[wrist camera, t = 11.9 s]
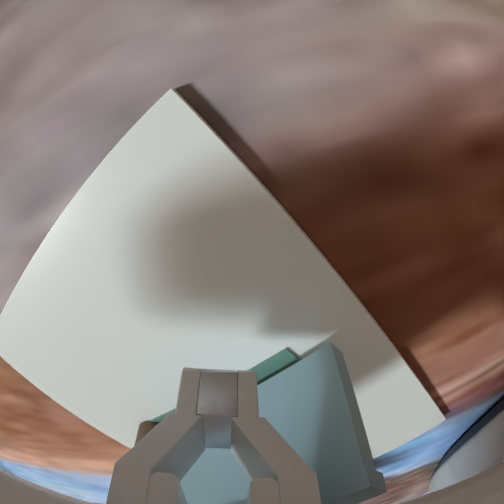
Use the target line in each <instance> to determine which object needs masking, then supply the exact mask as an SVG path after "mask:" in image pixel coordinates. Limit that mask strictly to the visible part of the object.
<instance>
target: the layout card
mask: <svg viewBox="0 0 504 504" xmlns="http://www.w3.org/2000/svg"><path fill="white" fill-rule="evenodd" d="M330 342H331V343H332V344H333V345H334V346H335V347H336V348H337V349H339V350H340V351H341V352H342V353H343V357H344V360H345V363H346V366H347V369H348V373H349V376H350V379H351V383H352V386H353V389H354V393H355V396H356V399H357V403H358V406H359V410H360V413H361V417H362V420H363V424H364V427H365V431H366V434H367V438H368V442H369V446H370V449H371V453H372V457H373V459H374V458H377V457H379V456H381V455H383V454H385V453H387V452H389V451H391V450H393V449H395V448H397V447H399V446H401V445H403V444H405V443H407V442H409V441H410V440H412V439H414V438H416V437H418V436H420V435H421V434H423V433H425V432H427V431H428V430H430V429H432V428H433V427H435V426H437V425H438V424H440V423H442V422H443V421H445V420H446V418H445V416H444V414H443V413H442V411H441V410H440V408H439V407H438V405H437V404H436V402H435V401H434V400H433V398H432V397H431V395H430V394H429V392H428V391H427V390H426V388H425V387H424V385H423V384H422V383H421V381H420V380H419V378H418V377H417V376H416V374H415V373H414V372H413V370H412V369H411V367H410V366H409V365H408V363H407V362H406V361H405V359H404V358H403V356H402V355H401V354H400V352H399V351H398V350H397V348H396V347H395V346H394V344H393V343H392V342H391V340H390V339H389V338H388V336H387V335H386V334H385V332H384V331H383V330H382V328H381V327H380V326H379V325H378V323H377V322H376V321H375V319H374V318H373V317H372V315H371V314H370V313H369V312H368V310H367V309H366V308H365V306H364V305H363V304H362V303H361V301H360V300H359V299H358V297H357V296H356V295H355V294H354V292H353V291H352V290H351V289H350V287H349V286H348V285H347V284H346V282H345V281H344V280H343V279H342V277H341V276H340V275H339V274H338V272H337V271H336V270H335V269H334V267H333V266H332V265H331V264H330V263H329V261H328V260H327V259H326V258H325V256H324V255H323V254H322V253H321V252H320V250H319V249H318V248H317V247H316V245H315V244H314V243H313V242H312V241H311V239H310V238H309V237H308V236H307V235H306V234H305V232H304V231H303V230H302V229H301V228H300V226H299V225H298V224H297V223H296V222H295V220H294V219H293V218H292V217H291V216H290V215H289V213H288V212H287V211H286V210H285V209H284V208H283V206H282V205H281V204H280V203H279V202H278V201H277V200H276V198H275V197H274V196H273V195H272V194H271V193H270V192H269V190H268V189H267V188H266V187H265V186H264V185H263V184H262V182H261V181H260V180H259V179H258V178H257V177H256V176H255V175H254V173H253V172H252V171H251V170H250V169H249V168H248V167H247V166H246V164H245V163H244V162H243V161H242V160H241V159H240V158H239V157H238V156H237V155H236V153H235V152H234V151H233V150H232V149H231V148H230V147H229V146H228V145H227V144H226V143H225V141H224V140H223V139H222V138H221V137H220V136H219V135H218V134H217V133H216V132H215V131H214V130H213V129H212V127H211V126H210V125H209V124H208V123H207V122H206V121H205V120H204V119H203V118H202V117H201V116H200V115H199V114H198V113H197V112H196V111H195V109H194V108H193V107H192V106H191V105H190V104H189V103H188V102H187V101H186V100H185V99H184V98H183V97H182V96H181V95H180V94H179V93H178V92H177V91H176V90H175V89H173V88H171V89H170V90H169V91H168V92H166V93H165V94H164V95H163V96H162V97H161V98H160V99H159V100H158V101H157V102H156V103H155V104H154V105H153V106H152V107H151V108H150V109H149V110H148V111H147V112H146V113H145V114H144V115H143V116H142V117H141V118H140V120H139V121H138V122H137V123H136V124H135V125H134V126H133V127H132V128H131V129H130V130H129V131H128V132H127V133H126V135H125V136H124V137H123V138H122V139H121V140H120V141H119V142H118V143H117V145H116V146H115V147H114V148H113V149H112V150H111V151H110V153H109V154H108V155H107V156H106V157H105V158H104V160H103V161H102V162H101V163H100V164H99V166H98V167H97V168H96V169H95V171H94V172H93V173H92V174H91V175H90V177H89V178H88V179H87V181H86V182H85V183H84V184H83V186H82V187H81V188H80V190H79V191H78V192H77V193H76V195H75V196H74V197H73V199H72V200H71V201H70V203H69V204H68V206H67V207H66V208H65V210H64V211H63V213H62V214H61V215H60V217H59V218H58V220H57V221H56V222H55V224H54V225H53V227H52V228H51V230H50V231H49V233H48V234H47V236H46V237H45V239H44V240H43V242H42V243H41V245H40V247H39V248H38V250H37V251H36V253H35V254H34V256H33V258H32V259H31V261H30V263H29V264H28V266H27V268H26V269H25V271H24V273H23V274H22V276H21V278H20V280H19V281H18V283H17V285H16V287H15V289H14V290H13V292H12V294H11V296H10V298H9V300H8V302H7V303H6V305H5V307H4V309H3V311H2V313H1V315H0V356H1V357H2V358H3V359H4V360H5V361H6V362H7V363H9V364H10V365H11V366H12V367H13V368H14V369H15V370H17V371H18V372H19V373H20V374H21V375H23V376H24V377H25V378H26V379H27V380H29V381H30V382H31V383H32V384H34V385H35V386H36V387H37V388H39V389H40V390H41V391H43V392H44V393H45V394H46V395H48V396H49V397H50V398H52V399H53V400H55V401H56V402H57V403H59V404H60V405H61V406H63V407H64V408H66V409H67V410H69V411H70V412H71V413H73V414H74V415H76V416H77V417H79V418H80V419H82V420H83V421H85V422H87V423H88V424H90V425H91V426H93V427H94V428H96V429H98V430H99V431H101V432H103V433H104V434H106V435H108V436H109V437H111V438H113V439H114V440H116V441H118V442H120V443H121V444H123V445H125V446H127V447H129V448H131V449H132V448H133V447H134V445H135V441H136V436H137V432H138V428H139V425H140V423H141V422H143V421H147V420H150V421H149V422H158V423H160V422H161V421H162V420H163V419H164V418H165V417H166V416H167V415H168V414H169V413H175V411H176V404H177V398H178V392H179V386H180V380H181V374H182V370H183V368H184V367H189V368H201V369H202V368H203V369H222V370H237V371H238V370H255V371H256V375H257V385H259V384H261V383H263V382H264V381H266V380H268V379H270V378H271V377H273V376H275V375H277V374H278V373H280V372H282V371H284V370H285V369H287V368H289V367H291V366H292V365H294V364H296V363H297V362H299V361H301V360H302V359H304V358H306V357H307V356H309V355H310V354H312V353H314V352H315V351H317V350H318V349H320V348H322V347H323V346H325V345H326V344H328V343H330Z"/></svg>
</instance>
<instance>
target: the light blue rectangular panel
mask: <svg viewBox="0 0 504 504" xmlns="http://www.w3.org/2000/svg"><path fill="white" fill-rule="evenodd" d="M257 391H258V407H259V417H265V418H266V419H267V421H268V422H269V423H270V424H271V425H272V426H273V427H274V429H275V430H276V431H277V432H278V433H279V434H280V435H281V436H282V438H283V439H284V440H285V441H286V442H287V443H288V444H289V445H290V446H291V447H292V448H293V450H294V451H295V452H296V453H297V454H298V455H299V456H300V457H301V458H302V459H303V460H304V461H305V462H306V463H307V464H308V465H309V466H310V468H311V469H312V470H313V471H314V472H315V473H316V474H317V479H318V485H319V492H320V498H321V504H357V503H360V502H363V501H365V500H368V499H370V498H373V497H375V496H378V495H380V494H383V493H385V492H387V489H386V485H385V481H384V477H383V474H382V473H380V472H378V471H376V468H375V464H374V461H373V457H372V453H371V449H370V446H369V442H368V438H367V434H366V431H365V427H364V424H363V420H362V417H361V413H360V410H359V406H358V403H357V399H356V396H355V393H354V389H353V386H352V383H351V379H350V376H349V373H348V369H347V366H346V363H345V360H344V357H343V353H342V352H341V351H340V350H339V349H337V348H336V347H335V346H334V345H333V344H332V343H331V342H330V343H328V344H326V345H325V346H323V347H322V348H320V349H318V350H317V351H315V352H314V353H312V354H310V355H309V356H307V357H306V358H304V359H302V360H301V361H299V362H297V363H296V364H294V365H292V366H291V367H289V368H287V369H285V370H284V371H282V372H280V373H278V374H277V375H275V376H273V377H271V378H270V379H268V380H266V381H264V382H263V383H261V384H259V385H257ZM250 482H251V479H250V478H249V477H248V475H247V474H246V472H245V471H244V469H243V468H242V466H241V465H240V464H239V462H238V461H237V459H236V458H235V456H234V455H233V453H232V452H231V449H222V448H205V451H204V452H203V453H202V455H201V456H200V457H199V458H198V460H197V461H196V462H195V464H194V465H193V466H192V467H191V469H190V470H189V471H188V472H187V474H186V475H185V476H184V477H183V479H182V480H181V481H180V484H181V487H182V490H183V493H184V495H185V498H186V501H187V503H188V504H246V500H247V495H248V489H249V484H250Z"/></svg>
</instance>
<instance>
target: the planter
mask: <svg viewBox="0 0 504 504" xmlns="http://www.w3.org/2000/svg"><path fill="white" fill-rule="evenodd" d="M503 461H504V398H503V399H502V400H501V401H500V402H499V403H498V404H497V405H496V406H495V407H493V408H492V409H491V410H490V411H489V412H488V413H487V414H486V415H485V416H484V417H483V418H482V419H481V420H479V421H478V422H477V423H476V424H475V425H474V426H473V427H472V428H471V429H470V430H469V431H468V432H467V433H466V434H465V435H464V436H463V437H462V438H461V439H460V440H459V441H458V442H457V443H456V444H455V445H454V446H453V447H452V448H451V449H450V450H449V451H448V452H447V454H446V455H445V456H444V458H443V459H442V461H441V462H440V463H439V465H438V466H437V468H436V469H435V471H434V473H433V474H432V476H431V478H430V481H429V490H430V493H431V492H434V491H437V490H439V489H442V488H445V487H447V486H450V485H453V484H455V483H458V482H460V481H462V480H465V479H467V478H470V477H472V476H474V475H476V474H479V473H481V472H483V471H485V470H487V469H489V468H491V467H493V466H495V465H497V464H499V463H501V462H503Z"/></svg>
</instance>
